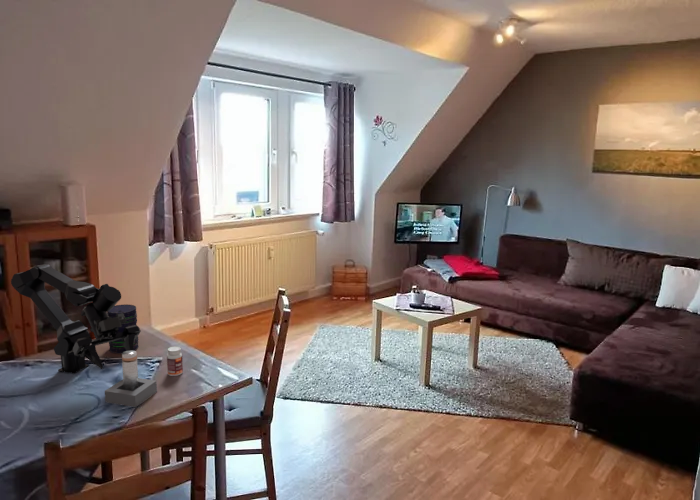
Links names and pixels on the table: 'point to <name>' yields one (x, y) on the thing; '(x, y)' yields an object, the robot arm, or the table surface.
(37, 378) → the table surface
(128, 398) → the socket block
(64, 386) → the table surface
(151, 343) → the table surface
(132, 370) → the frosted bottle
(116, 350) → the storage jar
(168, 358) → the pill bottle
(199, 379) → the table surface
